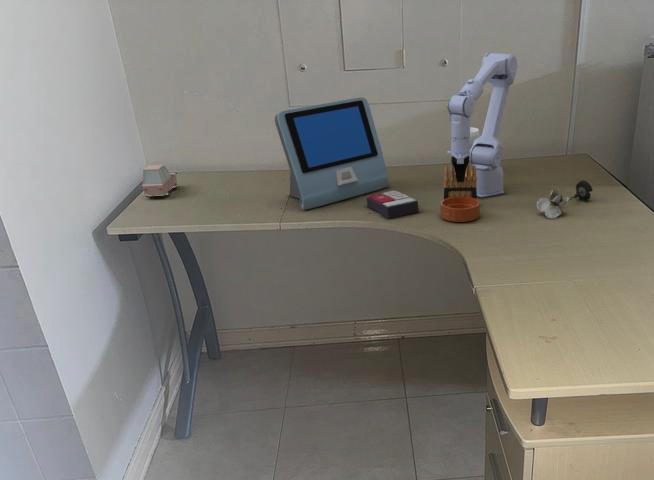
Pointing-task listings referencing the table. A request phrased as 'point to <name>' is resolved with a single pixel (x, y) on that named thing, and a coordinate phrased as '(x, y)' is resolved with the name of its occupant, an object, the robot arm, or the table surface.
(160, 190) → the toy car
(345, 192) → the touchscreen device
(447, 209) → the bowl
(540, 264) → the table surface
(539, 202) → the artificial flower
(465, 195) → the ammunition clip
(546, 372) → the table surface
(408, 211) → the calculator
